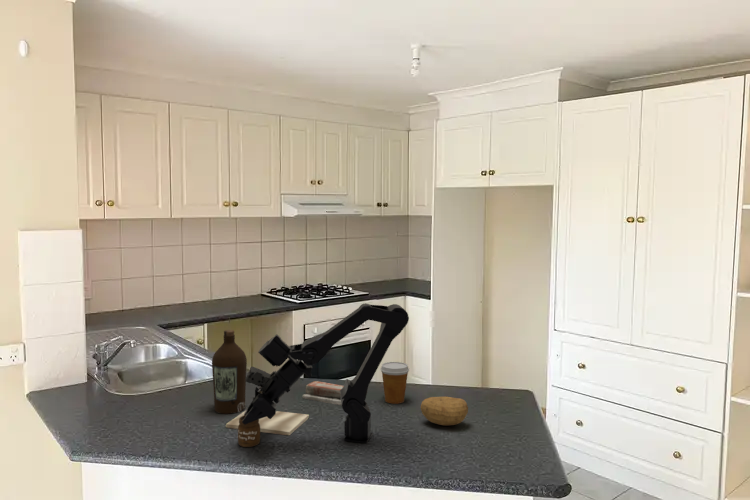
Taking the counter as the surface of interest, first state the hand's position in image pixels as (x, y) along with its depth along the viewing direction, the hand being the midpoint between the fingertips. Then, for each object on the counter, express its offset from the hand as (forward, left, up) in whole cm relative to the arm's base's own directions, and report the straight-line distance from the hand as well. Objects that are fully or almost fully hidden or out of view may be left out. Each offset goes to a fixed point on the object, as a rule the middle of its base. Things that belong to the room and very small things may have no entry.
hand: (244, 419), depth 151 cm
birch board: (+1, -16, -7) cm, 17 cm away
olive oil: (+18, -23, -7) cm, 29 cm away
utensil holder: (-1, -1, -7) cm, 7 cm away
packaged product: (-9, -42, -7) cm, 44 cm away
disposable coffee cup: (-30, -46, -7) cm, 55 cm away
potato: (-49, -30, -7) cm, 58 cm away
